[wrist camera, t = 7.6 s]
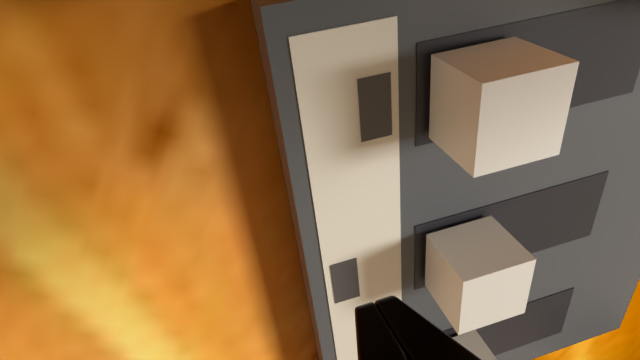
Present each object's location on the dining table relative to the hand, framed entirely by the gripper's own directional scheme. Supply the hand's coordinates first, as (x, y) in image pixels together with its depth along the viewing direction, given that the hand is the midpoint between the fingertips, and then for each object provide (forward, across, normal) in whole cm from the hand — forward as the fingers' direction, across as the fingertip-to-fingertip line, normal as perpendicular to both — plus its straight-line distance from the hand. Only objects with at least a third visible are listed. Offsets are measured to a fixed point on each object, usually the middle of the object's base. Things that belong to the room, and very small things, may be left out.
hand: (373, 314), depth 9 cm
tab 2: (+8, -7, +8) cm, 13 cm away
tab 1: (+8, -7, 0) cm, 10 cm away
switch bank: (+10, -10, +8) cm, 16 cm away
